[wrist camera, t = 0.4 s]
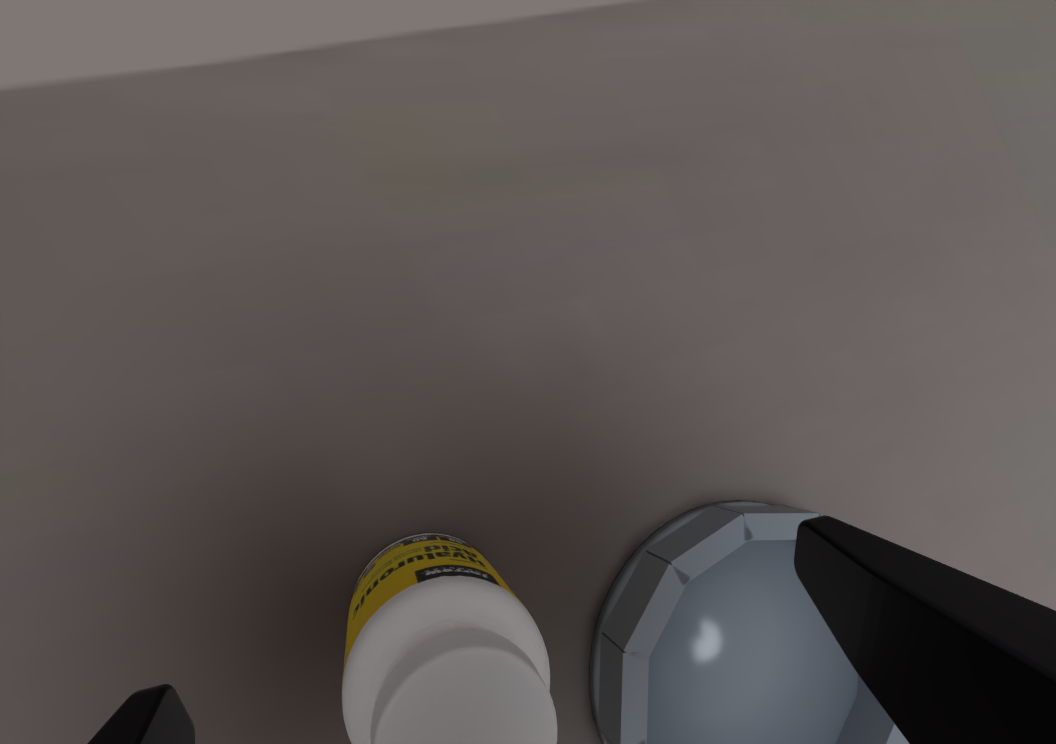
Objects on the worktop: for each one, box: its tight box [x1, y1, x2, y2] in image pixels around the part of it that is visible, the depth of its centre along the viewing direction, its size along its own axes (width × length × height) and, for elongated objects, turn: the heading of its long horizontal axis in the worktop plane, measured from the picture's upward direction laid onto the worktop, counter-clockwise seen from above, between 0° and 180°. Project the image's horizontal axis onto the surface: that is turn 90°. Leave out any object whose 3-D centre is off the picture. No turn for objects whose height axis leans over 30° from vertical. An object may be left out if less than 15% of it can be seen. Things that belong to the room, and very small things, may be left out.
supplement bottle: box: [342, 533, 557, 744], centre depth 17 cm, size 5×5×10 cm
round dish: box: [589, 500, 909, 744], centre depth 24 cm, size 13×13×3 cm
